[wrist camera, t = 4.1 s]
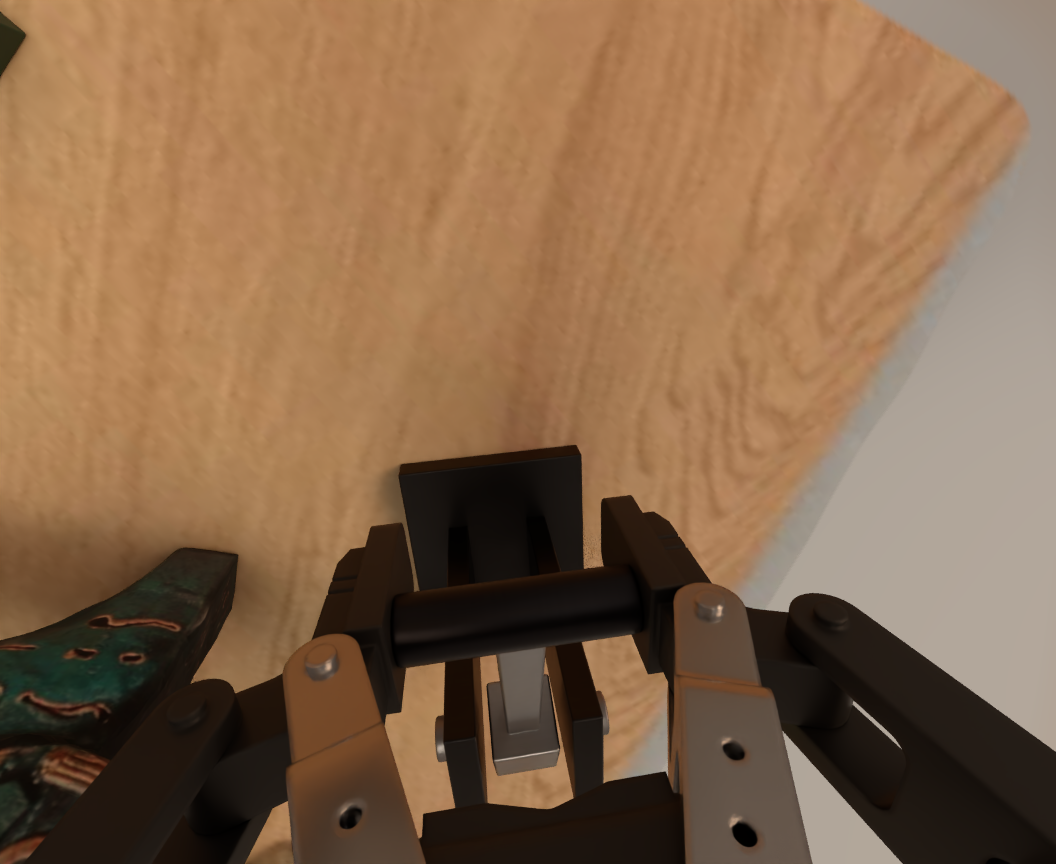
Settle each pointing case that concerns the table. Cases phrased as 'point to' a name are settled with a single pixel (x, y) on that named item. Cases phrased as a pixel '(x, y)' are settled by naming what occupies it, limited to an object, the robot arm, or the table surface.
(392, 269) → the table surface
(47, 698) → the ceramic cat
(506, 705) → the lever
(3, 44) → the button block
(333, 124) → the table surface
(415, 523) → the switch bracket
